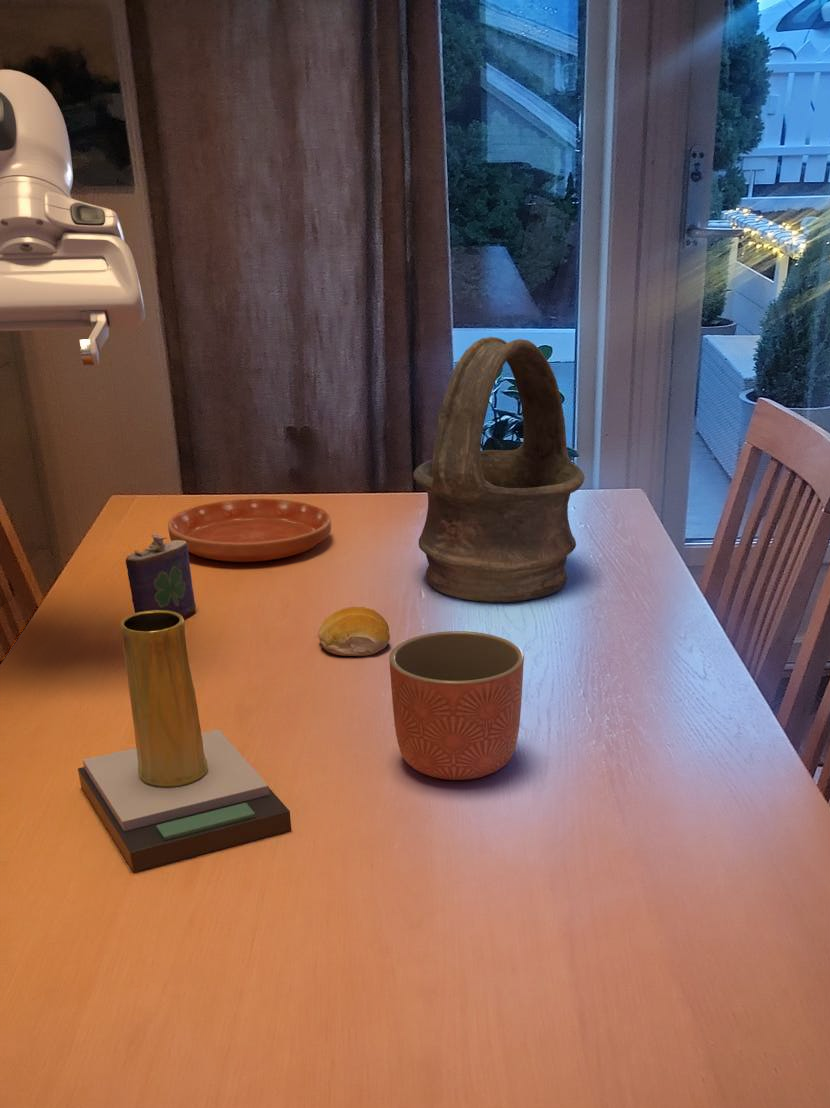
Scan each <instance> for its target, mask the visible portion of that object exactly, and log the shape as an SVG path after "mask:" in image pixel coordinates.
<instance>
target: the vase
mask: <svg viewBox="0 0 830 1108" xmlns="http://www.w3.org/2000/svg"><path fill="white" fill-rule="evenodd" d="M120 630H121V637H122V643H123V652H124V659H125V660H124V661H125V667H126V676H127V684H128V691H129V699H130V707H131V714H132V715H131V716H132V722H133V730H134V739H135V748H136V749H137V758H138V774H139V776H140V778H141V779H142V780H143V781H144V782H146V783H148V784H151V785H154V786H160V787H174V786H181V785H185V784H189V783H192V782H194V781H196V780H198V779H200V778H201V777H202V776H203V775H204V774H205V773H206V772H207V769H208V764H207V760H206V757H205V755H204V749H203V741H202V735H201V733H202V730H201V729H202V728H201V724H200V716H199V708H198V702H197V696H196V690H195V686H194V681H193V676H192V672H191V667H190V661H189V655H188V649H187V642H186V625H185V619H183V617H182V616H181V615H180V614H178V613H176V612H172V611H167V610H151V611H142V612H137V613H135V612H134V613H131V614H129V615H127V616H125V617H124V618H122V620H121V622H120Z"/></svg>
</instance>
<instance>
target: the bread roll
mask: <svg viewBox="0 0 830 1108" xmlns="http://www.w3.org/2000/svg"><path fill="white" fill-rule="evenodd" d="M389 631H390V627H389V625H388V622H387V621H386V619H385V618H384V617H383V616H382V614H380V613H379V612H377V611H376V610H374V609H373V608H372V609H371V608H368V607H366V606H365V607H364V606H348V607H345V608H341V609H339V610H337V611H335V612H333V613H332V614H331V615H329V616H328V617H326V618H325V619H324V620H323V622H322V623H321V625H320V627H319V630H318V635H317V636H318V640H319V643H320V645H321V647H322V648H323V649H324V650H325V651H326V652H329V653H331V654H333V655H338V656H344V657H365V656H366V657H367V656H372V655H376V654H377V653H379V652H380V651H382V650H384V649H385V648H386V647H387V645H388V643H389V641H390V640H391V635H390V632H389Z"/></svg>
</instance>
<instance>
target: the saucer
mask: <svg viewBox="0 0 830 1108" xmlns="http://www.w3.org/2000/svg"><path fill="white" fill-rule="evenodd" d="M167 529H168V534H169V539H170V541H173V540H182V541H185V542H186V543H187V545H188V553H191V554H192V555H195V556H198V557H200V558H204V559H209V560H214V561H221V562H230V563H232V562H234V563H253V562H266V561H273V560H279V559H284V558H289V557H292V556H295V555H299V554H302V553H305V552H307V551H309V550H311V549H313V548H314V547H316V546H317V544H319V543H321V542H322V541H324V540H325V539H327V538H328V536H329V535H330V534H331V532H332V517H331V514H330V513H329V512H328V511H327V510H325V509H323V508H322V507H319V506H317V505H314V504H311V503H307V502H302V501H297V500H291V499H290V500H289V499H280V498H240V499H239V498H238V499H227V500H219V501H214V502H207V503H203V504H199V505H195V506H191V507H189V508H186V509H184V510H181V511H179V512H177V513H176V514H174V515H173V516H171V517H170V519H169V520H168V523H167Z"/></svg>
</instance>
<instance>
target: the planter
mask: <svg viewBox="0 0 830 1108" xmlns="http://www.w3.org/2000/svg"><path fill="white" fill-rule="evenodd" d="M388 660H389V672H390V673H389V674H390V687H391V700H392V712H393V722H394V730H395V735H396V741H397V745H398V749H399V750H400V751H399V752H400V754H401V757H402V758H403V759H404V761H405V762H406V763H407V764H408V765H409V766H410V767H411V768H413V769H414V770H415V771H417V772H419V773H421V774H423V775H426V776H429V777H432V778H435V779H440V780H449V781H466V780H475V779H478V778H482V777H486V776H489V775H491V774H493V773H496V772H497V771H498V770H500V769H501V768H503V767H504V766H506V765H507V763H508V762H509V761H510V760H511V759H512V758H513V755H514V753H515V750H516V747H517V743H518V739H519V733H520V725H521V724H520V723H521V714H522V713H521V712H522V699H523V697H522V696H523V685H524V684H523V683H524V682H523V681H524V664H525V657H524V652H523V651H522V650H521V648H520V647H519V646H517V644H515V643H513V642H511V640H508V639H505V638H503V637H500V636H497V635H494V634H490V633H485V632H476V631H464V630H463V631H462V630H452V631H438V632H431V633H425V634H420V635H418V636H414V637H411V638H408V639H406V640H404V641H402V642H400V643H399V644H397V645H396V646H395V647H394V648H393V649H392V651H391V652H390V655H389V659H388Z"/></svg>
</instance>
